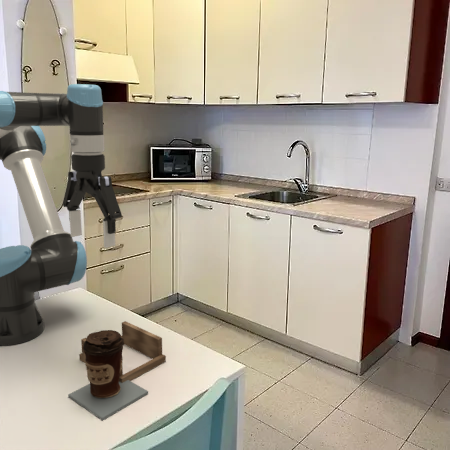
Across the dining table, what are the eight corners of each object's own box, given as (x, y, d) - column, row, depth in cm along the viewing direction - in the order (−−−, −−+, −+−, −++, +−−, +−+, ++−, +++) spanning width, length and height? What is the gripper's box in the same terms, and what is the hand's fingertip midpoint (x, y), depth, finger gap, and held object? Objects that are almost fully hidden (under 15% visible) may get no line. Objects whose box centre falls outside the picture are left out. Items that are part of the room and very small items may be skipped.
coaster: (68, 396, 101) (68, 394, 100) (113, 373, 110) (113, 371, 109) (102, 420, 93) (102, 417, 93) (148, 393, 102) (148, 391, 102)
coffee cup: (114, 405, 97) (112, 348, 94) (77, 400, 98) (74, 344, 95) (131, 382, 105) (129, 329, 102) (97, 377, 107) (94, 325, 104)
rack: (79, 360, 115) (78, 337, 114) (123, 340, 125) (122, 319, 124) (122, 385, 105) (121, 361, 104) (165, 361, 115) (165, 339, 114)
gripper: (44, 150, 114) (50, 234, 119) (107, 158, 99) (111, 254, 104) (71, 148, 120) (76, 229, 125) (135, 156, 104) (138, 247, 109)
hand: (92, 241), depth 114 cm, fingers open, 13 cm apart
